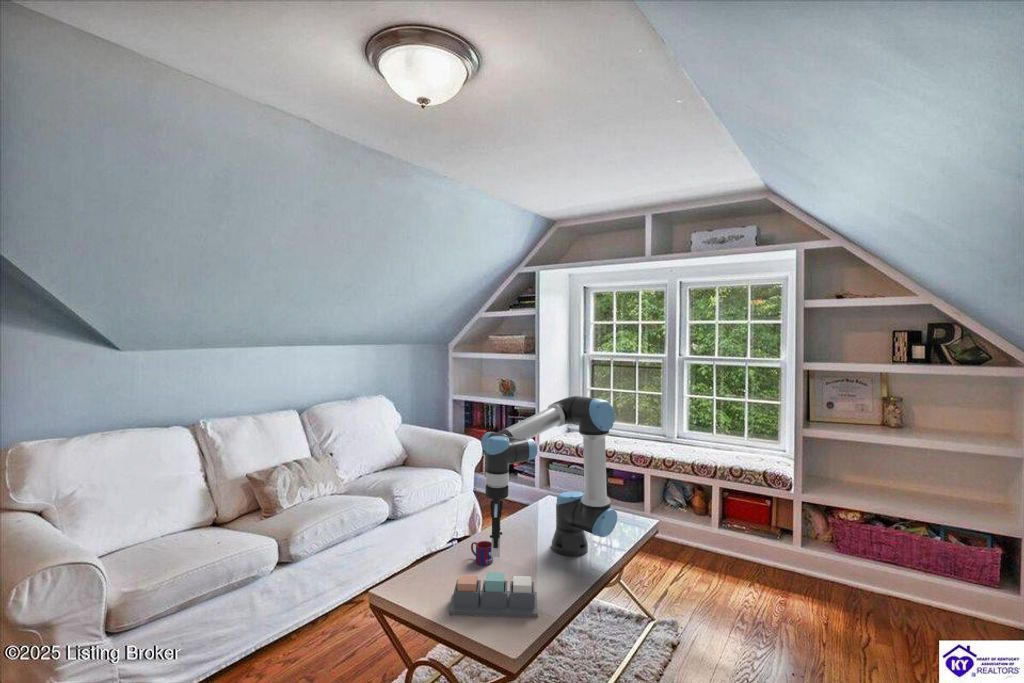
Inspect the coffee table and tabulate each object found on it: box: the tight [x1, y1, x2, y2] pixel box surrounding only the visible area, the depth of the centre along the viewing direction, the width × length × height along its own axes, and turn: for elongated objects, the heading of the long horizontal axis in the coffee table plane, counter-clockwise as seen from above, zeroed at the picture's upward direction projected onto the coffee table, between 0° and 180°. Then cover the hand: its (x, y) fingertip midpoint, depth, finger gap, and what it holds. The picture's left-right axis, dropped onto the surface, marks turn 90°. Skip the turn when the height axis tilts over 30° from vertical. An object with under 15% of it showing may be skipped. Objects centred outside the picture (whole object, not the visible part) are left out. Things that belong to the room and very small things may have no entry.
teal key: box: [484, 571, 505, 592], centre depth 158 cm, size 6×6×5 cm
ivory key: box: [512, 575, 533, 593], centre depth 158 cm, size 6×6×5 cm
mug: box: [470, 540, 494, 567], centre depth 189 cm, size 7×10×7 cm
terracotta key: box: [457, 574, 479, 592], centre depth 158 cm, size 6×6×5 cm
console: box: [448, 579, 539, 619], centre depth 158 cm, size 28×13×6 cm, turn 89°
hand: (495, 556), depth 158 cm, fingers closed
